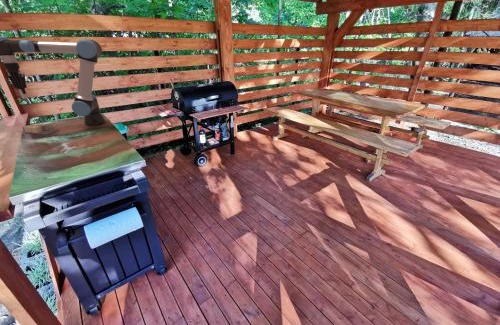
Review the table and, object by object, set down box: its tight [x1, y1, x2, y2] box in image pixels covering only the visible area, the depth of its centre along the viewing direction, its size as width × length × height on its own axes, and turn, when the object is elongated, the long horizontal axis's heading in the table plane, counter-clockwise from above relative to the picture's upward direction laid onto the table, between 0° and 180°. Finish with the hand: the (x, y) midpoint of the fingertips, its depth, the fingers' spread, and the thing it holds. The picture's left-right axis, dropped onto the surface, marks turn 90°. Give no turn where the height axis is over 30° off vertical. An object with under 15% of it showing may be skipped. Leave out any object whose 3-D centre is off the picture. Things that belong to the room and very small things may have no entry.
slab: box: [22, 123, 49, 133], centre depth 177 cm, size 8×4×12 cm
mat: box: [24, 128, 60, 136], centre depth 177 cm, size 10×20×1 cm, turn 78°
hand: (25, 98), depth 168 cm, fingers closed
